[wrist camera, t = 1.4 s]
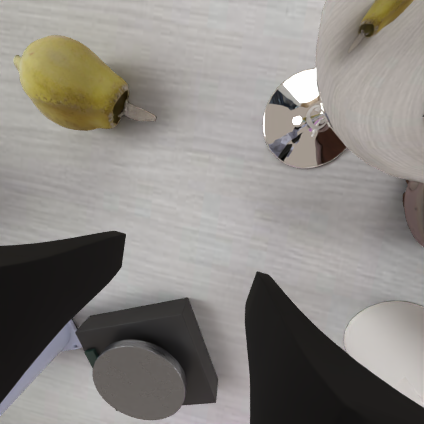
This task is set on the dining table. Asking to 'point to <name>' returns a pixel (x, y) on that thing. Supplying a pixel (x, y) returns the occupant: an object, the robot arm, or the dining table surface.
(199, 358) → the scale
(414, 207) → the flowerpot
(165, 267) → the dining table surface
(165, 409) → the scale pan
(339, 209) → the dining table surface
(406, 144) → the wineglass
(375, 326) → the cylinder with rectangular tab
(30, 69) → the fruit
